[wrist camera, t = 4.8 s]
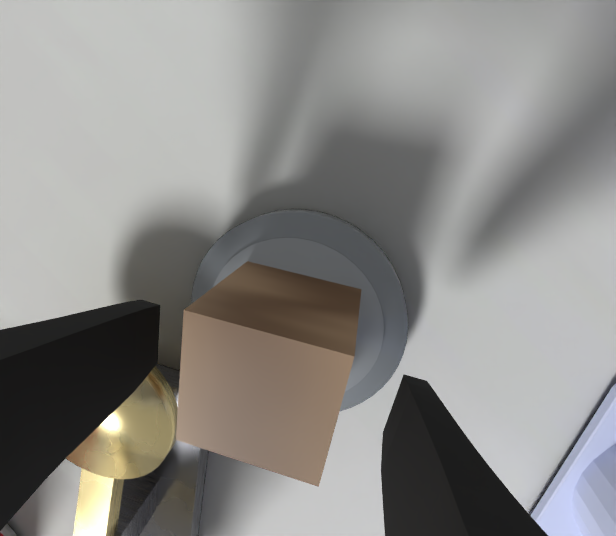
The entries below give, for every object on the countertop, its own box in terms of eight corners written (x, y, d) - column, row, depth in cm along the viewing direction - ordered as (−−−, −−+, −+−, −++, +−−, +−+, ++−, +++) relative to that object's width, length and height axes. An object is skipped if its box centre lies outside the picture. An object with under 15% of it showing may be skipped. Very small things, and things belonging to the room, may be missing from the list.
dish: (435, 238, 11) (442, 246, 10) (373, 420, 14) (373, 442, 12) (214, 187, 12) (197, 189, 11) (197, 367, 15) (182, 383, 13)
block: (361, 289, 11) (354, 356, 7) (336, 386, 12) (318, 486, 8) (247, 261, 11) (183, 309, 7) (235, 357, 13) (175, 439, 9)
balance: (96, 280, 14) (-97, 361, 8) (224, 316, 13) (110, 431, 8) (104, 570, 21) (2, 724, 15) (189, 604, 20) (116, 779, 15)
